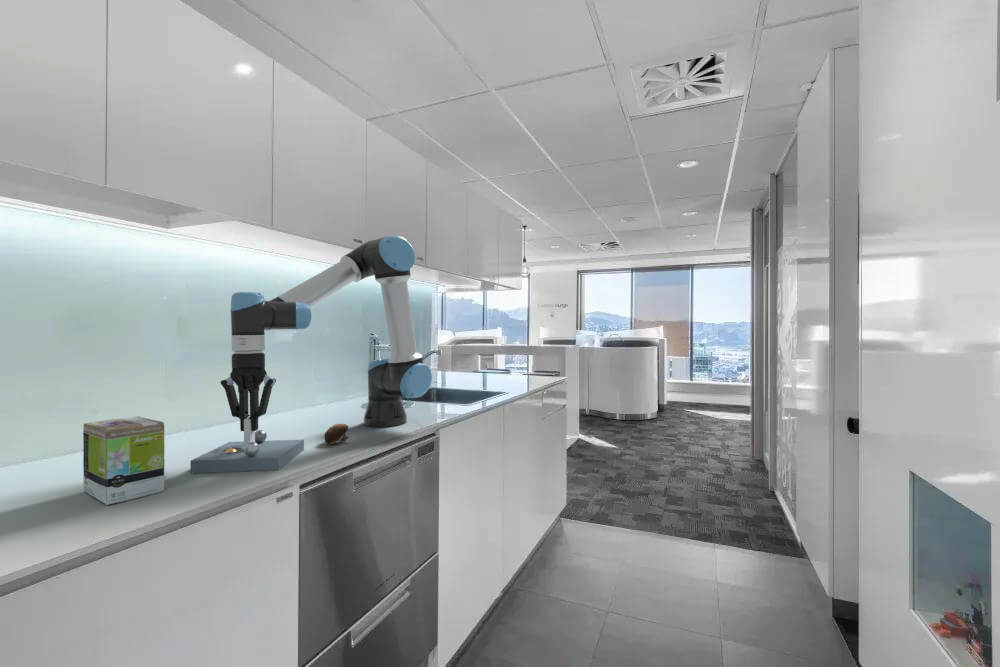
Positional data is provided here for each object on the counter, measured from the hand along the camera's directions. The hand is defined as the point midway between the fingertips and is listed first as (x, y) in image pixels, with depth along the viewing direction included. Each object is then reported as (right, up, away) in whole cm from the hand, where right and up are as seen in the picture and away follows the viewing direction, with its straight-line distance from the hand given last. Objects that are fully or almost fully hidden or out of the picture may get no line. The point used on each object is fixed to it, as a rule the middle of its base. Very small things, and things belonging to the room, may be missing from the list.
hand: (249, 443), depth 116 cm
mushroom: (+16, -5, +18) cm, 24 cm away
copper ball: (-5, -3, 0) cm, 5 cm away
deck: (+1, -5, 0) cm, 5 cm away
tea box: (-14, -5, -21) cm, 26 cm away
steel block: (-1, 0, +7) cm, 7 cm away
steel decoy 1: (+4, 0, -7) cm, 8 cm away
